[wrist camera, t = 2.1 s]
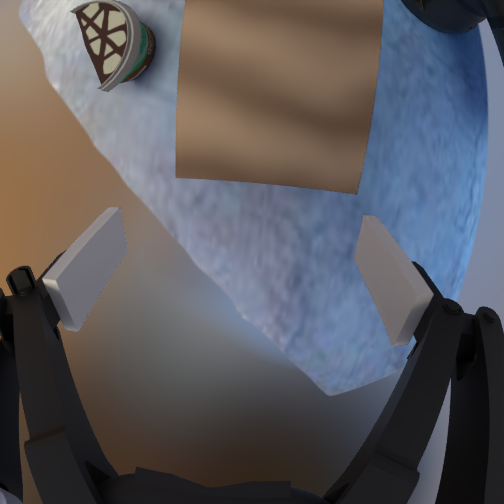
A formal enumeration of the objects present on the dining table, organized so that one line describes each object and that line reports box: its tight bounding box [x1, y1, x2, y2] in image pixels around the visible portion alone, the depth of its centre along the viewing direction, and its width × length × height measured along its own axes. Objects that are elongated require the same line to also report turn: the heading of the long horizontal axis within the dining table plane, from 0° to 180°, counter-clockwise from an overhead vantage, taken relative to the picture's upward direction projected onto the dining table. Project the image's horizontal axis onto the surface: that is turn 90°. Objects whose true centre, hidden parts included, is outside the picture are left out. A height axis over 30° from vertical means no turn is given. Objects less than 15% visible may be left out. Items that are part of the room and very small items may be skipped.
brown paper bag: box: [176, 0, 383, 195], centre depth 21 cm, size 28×14×16 cm, turn 175°
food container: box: [70, 0, 156, 92], centre depth 23 cm, size 12×6×10 cm, turn 19°
